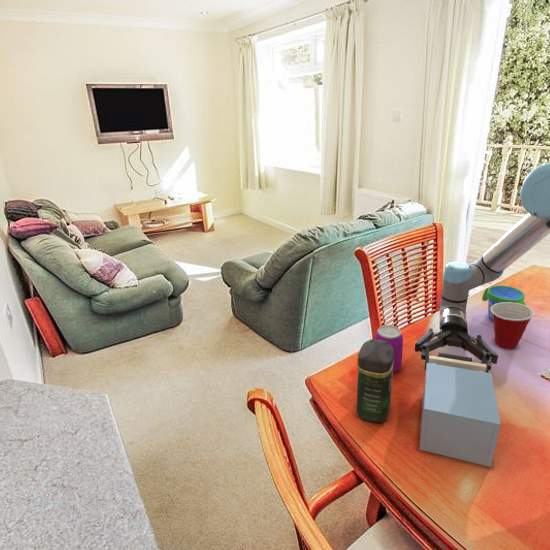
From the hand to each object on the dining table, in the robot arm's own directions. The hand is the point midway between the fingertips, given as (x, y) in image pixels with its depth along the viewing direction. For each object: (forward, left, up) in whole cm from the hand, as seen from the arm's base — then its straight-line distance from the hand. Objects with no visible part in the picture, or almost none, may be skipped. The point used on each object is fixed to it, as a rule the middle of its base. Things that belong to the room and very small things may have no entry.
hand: (455, 370), depth 93 cm
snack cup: (-8, -45, -8) cm, 47 cm away
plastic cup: (-10, -30, -8) cm, 33 cm away
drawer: (-1, +4, -7) cm, 8 cm away
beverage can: (+18, -4, -8) cm, 20 cm away
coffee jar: (+16, +14, -8) cm, 23 cm away
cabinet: (-2, +12, -8) cm, 14 cm away
